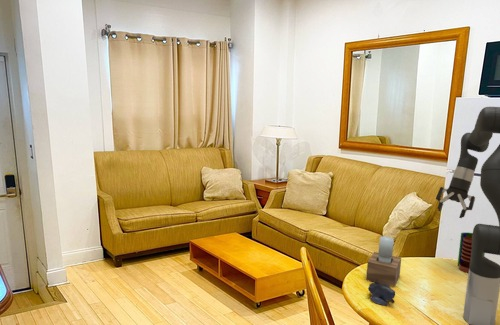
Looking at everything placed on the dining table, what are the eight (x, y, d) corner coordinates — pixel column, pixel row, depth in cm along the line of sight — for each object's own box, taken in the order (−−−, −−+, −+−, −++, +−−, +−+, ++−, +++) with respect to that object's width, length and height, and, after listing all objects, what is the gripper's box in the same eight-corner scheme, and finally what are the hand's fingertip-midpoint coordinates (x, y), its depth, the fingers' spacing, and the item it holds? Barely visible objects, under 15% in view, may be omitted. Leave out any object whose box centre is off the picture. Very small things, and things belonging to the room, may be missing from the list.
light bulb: (389, 275, 154) (392, 242, 152) (375, 271, 157) (378, 239, 155) (391, 270, 159) (394, 238, 157) (378, 267, 162) (381, 235, 159)
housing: (394, 287, 151) (396, 268, 149) (366, 280, 156) (367, 261, 155) (399, 275, 161) (401, 257, 160) (372, 269, 166) (374, 251, 165)
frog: (376, 290, 148) (378, 273, 147) (401, 303, 139) (403, 285, 138) (361, 296, 143) (362, 278, 142) (385, 310, 134) (387, 291, 133)
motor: (452, 267, 172) (457, 224, 168) (465, 264, 175) (471, 222, 172) (473, 276, 163) (479, 231, 159) (487, 273, 166) (493, 229, 163)
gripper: (442, 173, 166) (430, 208, 167) (479, 182, 157) (466, 220, 158) (446, 175, 172) (434, 209, 172) (481, 184, 163) (469, 220, 164)
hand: (449, 214), depth 165 cm, fingers open, 8 cm apart
